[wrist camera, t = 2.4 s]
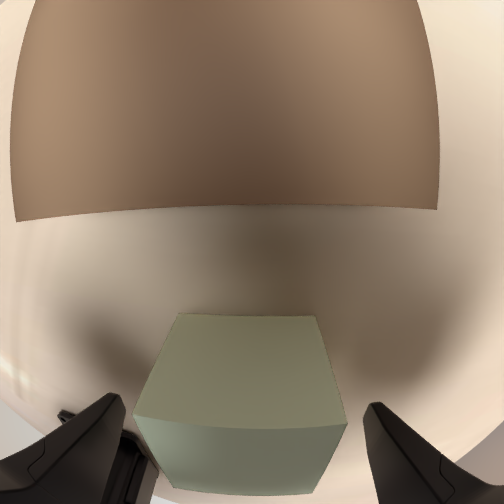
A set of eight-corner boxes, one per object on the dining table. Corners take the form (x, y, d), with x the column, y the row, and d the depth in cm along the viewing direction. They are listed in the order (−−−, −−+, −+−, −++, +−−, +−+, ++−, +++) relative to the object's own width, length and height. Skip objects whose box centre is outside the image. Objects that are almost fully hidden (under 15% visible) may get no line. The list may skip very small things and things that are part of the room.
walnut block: (90, 196, 9) (16, 222, 5) (107, -17, 6) (62, -55, 2) (369, 187, 8) (436, 209, 5) (345, -37, 5) (373, -91, 2)
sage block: (194, 399, 11) (173, 487, 7) (179, 311, 10) (131, 414, 5) (300, 401, 11) (311, 493, 7) (314, 314, 10) (347, 423, 5)
